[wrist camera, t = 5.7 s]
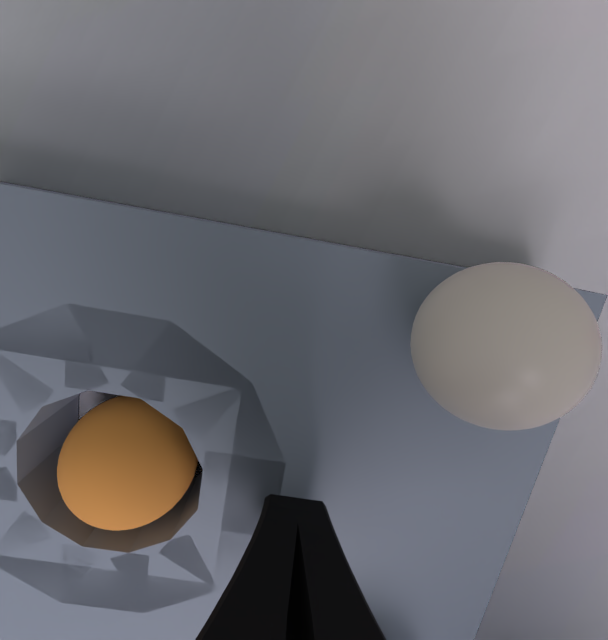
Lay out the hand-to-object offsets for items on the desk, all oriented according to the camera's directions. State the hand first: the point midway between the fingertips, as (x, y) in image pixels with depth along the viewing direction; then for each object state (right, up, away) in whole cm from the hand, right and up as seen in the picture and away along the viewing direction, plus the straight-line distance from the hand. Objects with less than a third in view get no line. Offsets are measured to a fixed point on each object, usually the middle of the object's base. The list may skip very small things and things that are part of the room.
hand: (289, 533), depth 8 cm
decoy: (+4, +5, -2) cm, 6 cm away
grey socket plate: (-2, +1, +3) cm, 4 cm away
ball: (-4, +1, +1) cm, 5 cm away
